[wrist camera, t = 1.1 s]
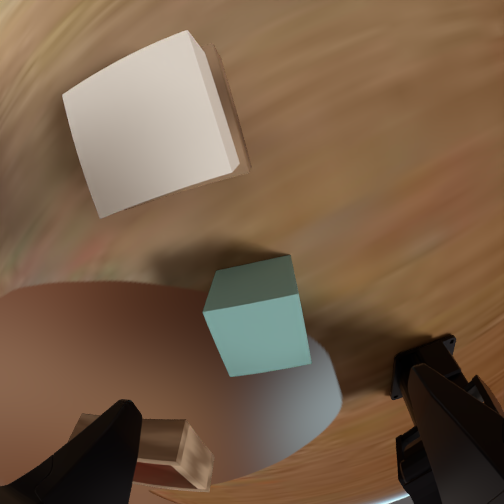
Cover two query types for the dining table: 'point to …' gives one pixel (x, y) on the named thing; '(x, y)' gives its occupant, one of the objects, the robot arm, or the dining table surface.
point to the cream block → (149, 125)
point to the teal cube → (257, 317)
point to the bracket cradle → (167, 455)
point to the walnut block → (231, 119)
